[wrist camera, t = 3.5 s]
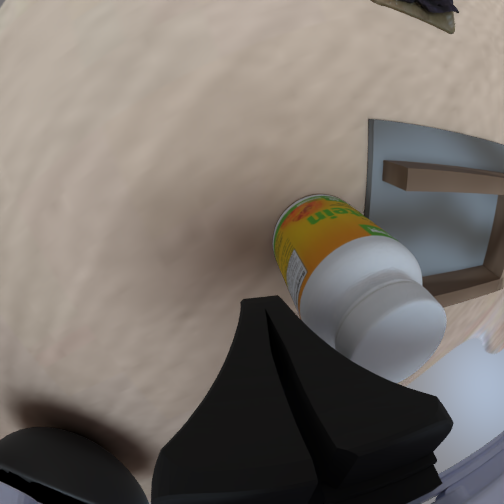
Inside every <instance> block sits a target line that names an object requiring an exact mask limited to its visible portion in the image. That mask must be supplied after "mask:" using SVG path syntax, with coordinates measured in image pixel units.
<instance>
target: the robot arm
mask: <svg viewBox="0 0 504 504" xmlns="http://www.w3.org/2000/svg"><path fill="white" fill-rule="evenodd" d="M240 303H241V311H240V317H239V322H238V326H237V329H236V333H235V336H234V339H233V342H232V345H231V347H230V350H229V352H228V355H227V357H226V360H225V362H224V364H223V366H222V368H221V370H220V372H219V374H218V376H217V378H216V380H215V381H214V383H213V385H212V386H211V388H210V390H209V391H208V393H207V395H206V396H205V398H204V399H203V401H202V402H201V404H200V405H199V406H198V408H197V409H196V410H195V411H194V413H193V414H192V415H191V417H190V418H189V419H188V421H187V422H186V423H185V424H184V426H183V427H182V428H181V429H180V430H179V431H178V432H177V433H176V434H175V435H174V437H173V438H172V439H171V440H170V441H169V442H168V443H167V444H166V445H165V446H164V447H163V448H162V449H161V451H160V453H159V456H158V459H157V462H156V465H155V469H154V473H153V478H152V489H151V504H422V503H424V502H425V501H428V500H429V499H431V498H433V497H435V496H437V495H438V496H437V497H436V501H435V502H433V503H431V504H504V431H503V432H502V433H501V434H499V435H498V436H497V437H495V438H494V439H493V440H491V441H490V442H489V443H487V444H486V445H484V446H483V447H482V448H480V449H479V450H477V451H476V452H474V453H473V454H471V455H470V456H468V457H467V458H465V459H463V460H462V461H460V462H459V463H457V464H455V465H454V466H452V467H450V468H448V469H447V470H445V471H443V472H441V473H439V474H438V473H437V471H436V469H435V467H434V465H433V464H435V463H436V462H437V459H436V457H435V455H434V453H433V451H434V450H435V449H436V448H437V447H438V446H439V445H440V443H441V442H442V441H443V440H444V439H445V438H446V437H447V435H448V434H449V433H450V431H451V429H452V426H453V421H452V419H451V417H450V416H449V414H448V413H447V411H446V409H445V407H444V406H443V404H442V403H441V402H440V401H439V399H438V398H437V397H436V396H433V395H430V394H426V393H423V392H420V391H416V390H413V389H410V388H407V387H404V386H402V385H399V384H397V383H394V382H392V381H390V380H387V379H385V378H383V377H381V376H379V375H376V374H375V373H373V372H371V371H369V370H367V369H365V368H363V367H361V366H360V365H358V364H356V363H355V362H353V361H351V360H350V359H348V358H347V357H345V356H344V355H342V354H341V353H339V352H338V351H336V350H335V349H334V348H332V347H331V346H330V345H329V344H327V343H326V342H325V341H324V340H323V339H321V338H320V337H319V336H318V335H317V334H316V333H314V332H313V331H312V330H311V329H310V328H309V327H308V326H307V325H306V324H305V323H304V322H303V321H302V320H301V319H300V318H299V317H298V316H297V315H296V314H295V313H294V312H293V311H292V310H291V309H290V308H289V307H288V305H287V304H286V303H285V302H284V301H283V300H282V299H281V298H280V297H279V296H278V295H277V296H268V297H259V298H249V299H243V300H242V301H241V302H240ZM0 504H42V503H39V502H37V501H36V500H35V499H33V498H32V497H30V496H28V495H27V494H25V493H23V492H21V491H20V490H17V489H15V488H13V487H11V486H9V485H7V484H5V483H3V482H1V481H0Z"/></svg>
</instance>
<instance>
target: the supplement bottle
mask: <svg viewBox="0 0 504 504" xmlns="http://www.w3.org/2000/svg"><path fill="white" fill-rule="evenodd" d="M273 251H274V255H275V258H276V261H277V263H278V266H279V268H280V271H281V273H282V275H283V278H284V280H285V283H286V285H287V287H288V290H289V292H290V294H291V297H292V299H293V302H294V304H295V306H296V309H297V311H298V313H299V316H300V319H301V320H302V321H303V322H304V323H305V324H306V325H307V326H308V327H309V328H310V329H311V330H312V331H313V332H314V333H316V334H317V335H318V336H319V337H320V338H321V339H323V340H324V341H325V342H326V343H327V344H329V345H330V346H331V347H332V348H334V349H335V350H336V351H338V352H339V353H341V354H342V355H344V356H345V357H347V358H348V359H350V360H351V361H353V362H355V363H356V364H358V365H360V366H361V367H363V368H365V369H367V370H369V371H371V372H373V373H375V374H376V375H379V376H381V377H383V378H385V379H387V380H390V381H392V382H394V383H398V382H400V381H402V380H404V379H406V378H407V377H409V376H410V375H412V374H413V373H415V372H416V371H417V370H418V369H419V368H421V367H422V366H423V365H424V364H425V363H426V362H427V361H428V360H429V358H430V357H431V356H432V355H433V353H434V352H435V351H436V349H437V347H438V346H439V344H440V342H441V340H442V338H443V336H444V333H445V329H446V314H445V311H444V309H443V307H442V305H441V304H440V303H439V302H438V301H437V300H436V299H435V298H434V297H433V296H432V295H431V294H430V293H429V292H428V291H427V290H426V289H425V288H424V287H423V286H422V273H421V269H420V266H419V264H418V262H417V260H416V258H415V257H414V255H413V254H412V253H411V252H410V251H409V250H408V249H407V248H406V247H405V246H404V245H402V244H401V243H400V242H399V241H397V240H396V239H395V238H393V237H392V236H391V235H389V234H388V233H387V232H385V231H384V230H383V229H381V228H380V227H379V226H377V225H376V224H375V223H373V222H372V221H371V220H369V219H368V218H366V217H365V216H364V215H362V214H361V213H360V212H358V211H357V210H356V209H354V208H353V207H352V206H350V205H349V204H347V203H346V202H344V201H342V200H341V199H339V198H336V197H334V196H330V195H322V194H321V195H312V196H308V197H305V198H302V199H300V200H298V201H296V202H295V203H293V204H292V205H291V206H290V207H288V208H287V209H286V210H285V212H284V213H283V214H282V215H281V217H280V219H279V220H278V222H277V224H276V227H275V230H274V235H273Z"/></svg>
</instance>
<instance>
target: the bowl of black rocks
mask: <svg viewBox="0 0 504 504" xmlns="http://www.w3.org/2000/svg"><path fill="white" fill-rule="evenodd" d="M0 481H1V482H3V483H5V484H7V485H9V486H11V487H13V488H15V489H17V490H20V491H21V492H23V493H25V494H27V495H28V496H30V497H32V498H33V499H35V500H36V501H37V502H39V503H42V504H149V502H148V500H147V497H146V495H145V493H144V491H143V490H142V488H141V486H140V485H139V483H138V482H137V480H136V479H135V477H134V476H133V475H132V474H131V473H130V471H129V470H128V469H127V468H126V467H125V466H124V465H123V464H122V463H121V462H120V461H119V460H118V459H117V458H116V457H114V456H113V455H112V454H111V453H109V452H108V451H107V450H105V449H104V448H103V447H101V446H99V445H98V444H96V443H94V442H93V441H91V440H89V439H87V438H85V437H82V436H80V435H78V434H75V433H72V432H69V431H65V430H61V429H57V428H49V427H33V428H26V429H21V430H18V431H16V432H13V433H11V434H9V435H7V436H5V437H4V438H3V439H1V440H0Z"/></svg>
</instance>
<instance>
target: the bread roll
mask: <svg viewBox="0 0 504 504" xmlns="http://www.w3.org/2000/svg"><path fill="white" fill-rule="evenodd" d="M371 1H372V2H374V3H376V4H378V5H382V6H386V7H389V8H392V9H394V10H397V11H400V12H402V13H405V14H407V15H410V16H412V17H415V18H417V19H420V20H422V21H424V22H426V23H428V24H430V25H433V26H435V27H437V28H439V29H441V30H443V31H445V32H447V33H449V34H453V33H454V32H455V23H454V14H453V11H454V12H456V13H459V11H458V10H457V8H456V7H455V6H454V5H453V0H371Z"/></svg>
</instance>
